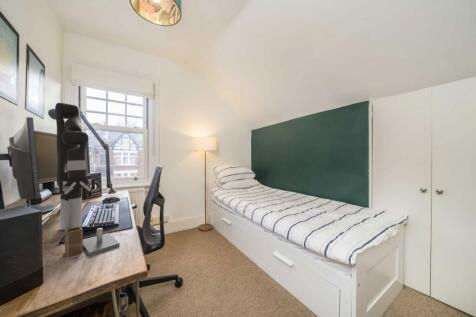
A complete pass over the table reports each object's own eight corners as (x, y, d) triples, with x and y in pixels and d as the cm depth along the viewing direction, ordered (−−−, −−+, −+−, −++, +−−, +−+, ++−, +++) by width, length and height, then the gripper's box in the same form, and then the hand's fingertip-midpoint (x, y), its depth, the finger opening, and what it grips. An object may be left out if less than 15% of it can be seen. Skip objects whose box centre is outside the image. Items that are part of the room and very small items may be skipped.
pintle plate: (80, 243, 86) (80, 227, 86) (108, 235, 94) (108, 221, 94) (89, 256, 75) (89, 238, 75) (119, 246, 83) (119, 230, 83)
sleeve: (64, 253, 77) (64, 229, 77) (80, 248, 81) (80, 226, 81) (66, 257, 74) (66, 232, 74) (82, 252, 78) (82, 229, 78)
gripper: (93, 167, 104) (94, 196, 104) (58, 169, 94) (59, 201, 94) (94, 168, 99) (96, 198, 99) (58, 170, 89) (59, 203, 89)
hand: (78, 199), depth 97 cm, fingers open, 8 cm apart
